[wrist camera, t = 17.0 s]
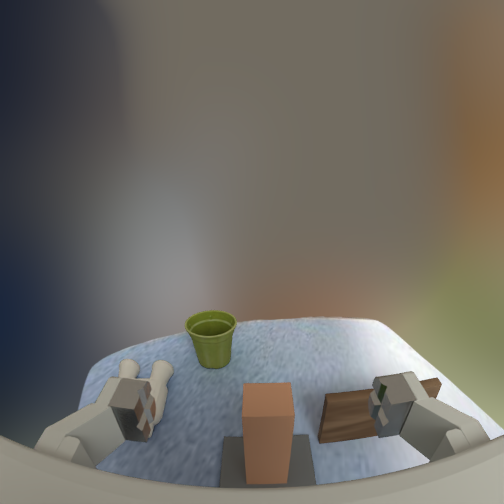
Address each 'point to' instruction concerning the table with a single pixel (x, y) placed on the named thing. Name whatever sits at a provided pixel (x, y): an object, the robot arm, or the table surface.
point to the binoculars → (151, 383)
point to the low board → (355, 414)
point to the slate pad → (236, 478)
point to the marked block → (267, 431)
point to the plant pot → (212, 337)
